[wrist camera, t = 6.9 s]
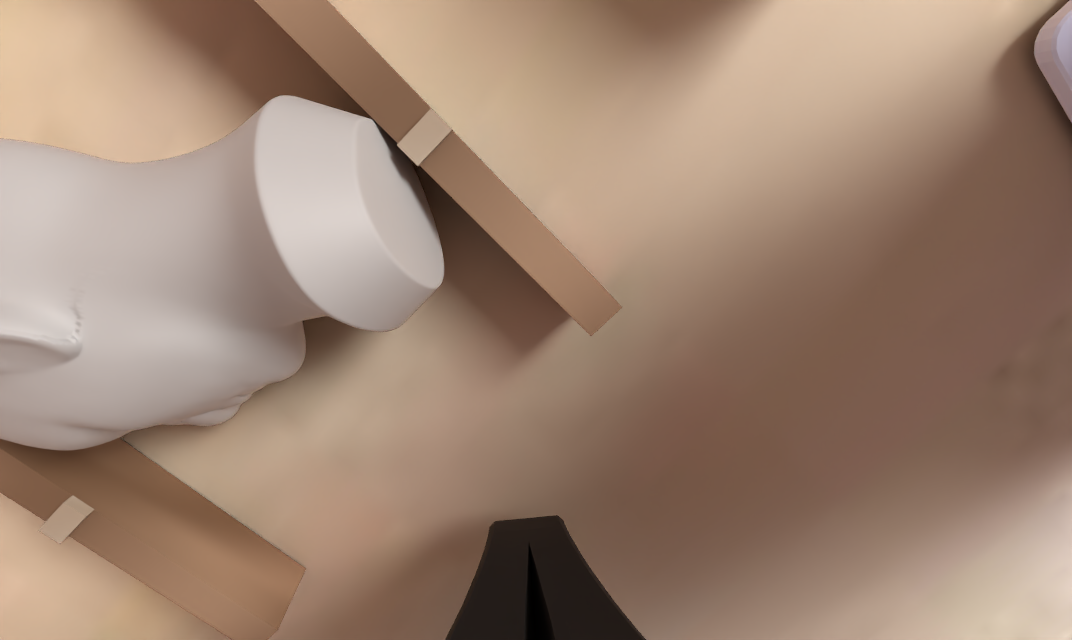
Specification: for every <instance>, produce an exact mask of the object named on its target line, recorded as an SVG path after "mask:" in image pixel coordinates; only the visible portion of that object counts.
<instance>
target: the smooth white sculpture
mask: <svg viewBox="0 0 1072 640" xmlns="http://www.w3.org/2000/svg"><path fill="white" fill-rule="evenodd" d="M397 144H398V143H397V142H396V141H395V140H394V139H393V138H392V137H391V136H390V135H389V134H388V133H387V132H386V131H385V130H384V129H383V128H382V127H381V126H380V125H379V124H378V123H377V122H376V121H375V120H372V119H369V118H366V117H362V116H359V115H356V114H352V113H349V112H346V111H343V110H339V109H336V108H333V107H329V106H326V105H323V104H319V103H316V102H313V101H310V100H306V99H303V98H300V97H296V96H289V95H282V96H278V97H275V98H273V99H271V100H270V101H268V102H267V103H266V104H265V105H264V106H263V107H261V108H260V109H259V110H258V111H257V112H256V113H254V114H253V115H252V116H251V117H250V118H249V119H248V120H246V121H245V122H244V123H243V124H242V125H241V126H239V127H238V128H237V129H236V130H234V131H233V132H231V133H230V134H229V135H227V136H225V137H224V138H222V139H220V140H219V141H217V142H215V143H213V144H210V145H208V146H206V147H204V148H201V149H199V150H196V151H193V152H190V153H187V154H184V155H180V156H177V157H173V158H168V159H163V160H158V161H151V162H141V163H124V162H115V161H110V160H106V159H102V158H98V157H94V156H90V155H87V154H83V153H79V152H75V151H71V150H67V149H63V148H58V147H54V146H49V145H44V144H38V143H32V142H26V141H19V140H11V139H1V138H0V439H3V440H7V441H11V442H14V443H18V444H22V445H26V446H31V447H36V448H43V449H50V450H79V449H84V448H89V447H93V446H97V445H100V444H104V443H107V442H110V441H112V440H115V439H117V438H119V437H121V436H123V435H125V434H127V433H129V432H131V431H133V430H139V429H144V428H148V427H152V426H156V425H160V424H161V425H184V424H189V425H196V426H213V425H217V424H221V423H223V422H225V421H227V420H229V419H230V418H232V417H233V416H234V415H235V414H236V413H237V411H238V410H239V408H240V406H241V404H242V403H244V402H245V401H247V400H248V399H249V398H250V397H251V395H252V394H253V393H254V392H256V391H258V390H260V389H262V388H263V387H265V386H266V385H268V384H271V383H276V382H280V381H283V380H285V379H287V378H289V377H291V376H292V375H294V374H295V373H296V372H297V371H298V370H299V369H300V367H301V366H302V364H303V361H304V358H305V353H306V341H305V333H304V327H303V322H302V321H303V320H308V319H313V318H318V317H324V316H329V317H331V318H333V319H335V320H338V321H340V322H342V323H344V324H347V325H349V326H352V327H355V328H358V329H362V330H367V331H376V332H385V331H391V330H394V329H396V328H398V327H400V326H401V325H402V324H403V323H404V322H405V321H406V320H407V319H408V318H409V317H410V316H411V315H412V314H413V313H414V312H415V311H416V310H417V309H418V308H419V307H420V306H421V305H422V304H423V303H424V302H425V301H426V300H427V299H428V298H429V297H430V296H431V295H432V293H433V292H434V291H435V290H436V289H437V288H438V287H439V286H440V285H441V283H442V281H443V277H444V259H443V253H442V247H441V243H440V239H439V235H438V231H437V228H436V225H435V222H434V219H433V216H432V213H431V210H430V207H429V204H428V201H427V198H426V196H425V193H424V191H423V188H422V186H421V183H420V181H419V178H418V176H417V174H416V172H415V169H414V167H413V165H412V163H411V161H410V159H409V157H408V156H407V155H406V154H405V153H404V152H403V151H402V150H401V149H400V148H399V147H398V146H397Z"/></svg>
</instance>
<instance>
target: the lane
mask: <svg viewBox="0 0 1072 640" xmlns="http://www.w3.org/2000/svg"><path fill="white" fill-rule="evenodd" d="M254 1H255V2H256V3H257V4H258V5H259V6H260V7H261V8H262V9H263V10H264V11H265V12H266V13H267V14H268V15H269V16H270V17H271V18H272V19H273V20H274V21H275V22H276V23H277V24H278V25H279V26H280V27H281V28H282V29H283V30H284V31H285V32H286V33H287V34H288V35H289V36H290V37H291V38H292V39H293V40H294V41H295V42H296V43H297V44H298V45H299V46H300V47H301V48H302V49H303V50H304V51H305V52H306V53H307V54H308V55H309V56H310V57H312V58H313V59H314V60H315V61H316V62H317V63H318V64H319V65H320V66H321V67H322V68H323V69H324V70H325V71H326V72H327V73H328V74H329V75H330V76H331V77H332V78H333V79H334V80H335V81H336V82H337V83H338V84H339V85H340V86H341V87H342V88H343V89H344V90H345V91H346V92H347V93H348V94H349V95H350V96H351V97H352V98H353V99H354V100H355V101H356V102H357V103H358V104H359V105H360V106H361V107H362V108H363V109H364V110H365V111H366V112H367V113H368V114H369V115H370V116H371V117H372V118H373V119H374V120H375V121H376V122H377V123H378V124H379V125H380V126H381V127H382V128H383V129H384V130H385V131H386V132H387V133H388V134H389V135H390V136H391V137H392V138H393V139H394V140H395V141H396V142H397V143H398V144H397V146H398V147H399V148H400V149H401V150H402V151H403V152H404V153H405V154H406V155H407V156H408V157H409V158H410V159H411V160H412V161H413V162H414V163H415V164H416V165H417V166H421V167H422V168H423V169H424V170H425V171H426V172H427V173H428V174H429V175H430V176H431V177H432V178H433V179H434V180H435V181H436V182H437V183H438V184H439V185H440V186H441V187H442V188H443V189H444V190H445V191H446V192H447V193H448V194H449V195H450V196H451V197H452V198H453V199H454V200H455V201H456V202H457V203H458V204H459V205H460V206H461V207H462V208H463V209H464V210H465V211H466V212H467V213H468V214H469V215H470V216H471V217H472V218H473V219H474V220H475V221H476V222H477V223H478V224H479V225H480V226H481V227H482V228H483V229H484V230H485V231H486V232H487V233H488V234H489V235H490V236H491V237H492V238H493V239H494V240H495V241H496V242H497V243H498V244H499V245H500V246H501V247H502V248H503V249H504V250H505V251H506V252H507V253H508V254H509V255H510V256H511V257H512V258H513V259H514V260H515V261H516V262H517V263H518V264H519V265H520V266H521V267H522V268H523V269H524V270H525V271H526V272H527V273H528V274H529V275H530V276H531V277H532V278H533V279H534V280H535V281H536V282H537V283H538V284H539V285H540V286H541V287H542V288H543V289H544V290H545V291H546V292H547V293H548V294H549V295H550V296H551V297H552V298H553V299H554V300H555V301H556V302H557V303H558V304H559V305H560V306H561V307H562V308H563V309H564V310H565V311H566V312H567V313H568V314H569V315H570V316H571V317H572V318H573V319H574V320H575V321H576V322H577V323H578V324H579V325H580V326H581V327H582V328H583V329H584V330H585V331H586V332H587V333H588V334H589V335H590V336H592V335H593V334H594V333H595V332H596V331H597V330H598V329H599V328H600V327H602V326H603V325H604V324H605V323H606V322H607V321H608V320H609V319H610V318H611V317H612V316H613V315H614V314H615V313H617V312H618V311H619V310H620V309H621V308H622V307H621V306H620V304H619V303H618V302H617V301H616V300H615V299H614V298H613V297H612V296H611V295H610V294H609V293H608V292H607V291H606V290H605V289H604V287H603V286H602V285H601V284H600V283H599V282H598V281H597V280H596V279H595V278H594V277H593V276H592V275H591V274H590V273H589V272H588V271H587V270H586V269H585V268H584V267H583V266H582V265H581V264H580V262H579V261H578V260H577V259H576V258H575V257H574V256H573V255H572V254H571V253H570V252H569V251H568V250H567V249H566V248H565V247H564V246H563V245H562V244H561V243H560V242H559V241H558V240H557V239H556V238H555V237H554V235H553V234H552V233H551V232H550V231H549V230H548V229H547V228H546V227H545V226H544V225H543V224H542V223H541V222H540V221H539V220H538V219H537V218H536V217H535V216H534V215H533V214H532V213H531V212H530V211H529V209H528V208H527V207H526V206H525V205H524V204H523V203H522V202H521V201H520V200H519V199H518V198H517V197H516V196H515V195H514V194H513V193H512V192H511V191H510V190H509V189H508V188H507V187H506V186H505V185H504V183H503V182H502V181H501V180H500V179H499V178H498V177H497V176H496V175H495V174H494V173H493V172H492V171H491V170H490V169H489V168H488V167H487V166H486V165H485V164H484V163H483V162H482V161H481V160H480V159H479V157H478V156H477V155H476V154H475V153H474V152H473V151H472V150H471V149H470V148H469V147H468V146H467V145H466V144H465V143H464V142H463V141H462V140H461V139H460V138H459V137H458V136H457V135H456V134H455V133H454V132H453V130H452V129H451V128H450V127H449V126H448V125H447V124H446V123H445V122H444V121H443V120H442V119H441V118H440V116H439V115H438V114H437V113H436V112H435V111H434V110H433V109H432V108H430V107H429V106H428V104H427V103H426V102H425V101H424V100H423V99H422V98H421V97H420V96H419V95H418V94H417V93H416V92H415V91H414V90H413V89H412V88H411V87H410V86H409V85H408V84H407V83H406V82H405V81H404V80H403V78H402V77H401V76H400V75H399V74H398V73H397V72H396V71H395V70H394V69H393V68H392V67H391V66H390V65H389V64H388V63H387V62H386V61H385V60H384V59H383V58H382V57H381V56H380V55H379V54H378V53H377V51H376V50H375V49H374V48H373V47H372V46H371V45H370V44H369V43H368V42H367V41H366V40H365V39H364V38H363V37H362V36H361V35H360V34H359V33H358V32H357V31H356V30H355V29H354V28H353V27H352V25H351V24H350V23H349V22H348V21H347V20H346V19H345V18H344V17H343V16H342V15H341V14H340V13H339V12H338V11H337V10H336V9H335V8H334V7H333V6H332V5H331V4H330V3H329V2H328V1H327V0H254ZM0 492H1V493H2V494H4V495H5V496H7V497H8V498H10V499H12V500H13V501H15V502H16V503H18V504H19V505H21V506H23V507H24V508H26V509H27V510H29V511H30V512H32V513H34V514H35V515H37V516H38V517H40V518H41V519H43V520H45V521H46V522H45V523H44V524H43V525H42V526H41V527H40V528H39V529H38V531H39V532H41V533H43V534H44V535H46V536H47V537H49V538H51V539H52V540H54V541H55V542H57V543H59V544H61V543H62V542H63V541H64V540H65V539H66V538H68V537H69V536H70V537H71V538H73V539H75V540H76V541H78V542H79V543H81V544H82V545H84V546H86V547H87V548H89V549H90V550H92V551H93V552H95V553H97V554H98V555H100V556H101V557H103V558H105V559H106V560H108V561H109V562H111V563H112V564H114V565H116V566H117V567H119V568H120V569H122V570H123V571H125V572H127V573H128V574H130V575H131V576H133V577H134V578H136V579H138V580H139V581H141V582H142V583H144V584H145V585H147V586H149V587H150V588H152V589H153V590H155V591H157V592H158V593H160V594H161V595H163V596H164V597H166V598H168V599H169V600H171V601H172V602H174V603H175V604H177V605H179V606H180V607H182V608H183V609H185V610H186V611H188V612H190V613H191V614H193V615H194V616H196V617H197V618H199V619H201V620H202V621H204V622H205V623H207V624H209V625H210V626H212V627H213V628H215V629H216V630H218V631H220V632H221V633H223V634H224V635H226V636H227V637H229V638H231V639H232V640H267V639H269V638H270V637H271V636H272V635H273V634H274V633H275V632H276V631H277V630H278V628H279V626H280V624H281V621H282V619H283V617H284V615H285V613H286V611H287V609H288V606H289V604H290V602H291V600H292V598H293V596H294V593H295V591H296V589H297V587H298V585H299V583H300V580H301V578H302V576H303V574H304V572H305V570H306V569H305V568H304V567H303V566H301V565H300V564H298V563H297V562H295V561H294V560H293V559H291V558H290V557H288V556H287V555H285V554H284V553H283V552H281V551H280V550H278V549H277V548H276V547H274V546H273V545H271V544H270V543H268V542H267V541H266V540H264V539H263V538H261V537H260V536H258V535H257V534H256V533H254V532H253V531H251V530H250V529H248V528H247V527H246V526H244V525H243V524H241V523H240V522H238V521H237V520H236V519H234V518H233V517H231V516H230V515H228V514H227V513H226V512H224V511H223V510H221V509H220V508H219V507H217V506H216V505H214V504H213V503H211V502H210V501H209V500H207V499H206V498H204V497H203V496H201V495H200V494H199V493H197V492H196V491H194V490H193V489H191V488H190V487H189V486H187V485H186V484H184V483H183V482H181V481H180V480H179V479H177V478H176V477H174V476H173V475H171V474H170V473H169V472H167V471H166V470H164V469H163V468H162V467H160V466H159V465H157V464H156V463H154V462H153V461H152V460H150V459H149V458H147V457H146V456H144V455H143V454H142V453H140V452H139V451H137V450H136V449H134V448H133V447H132V446H130V445H129V444H127V443H126V442H124V441H123V440H122V439H120V438H117V439H115V440H112V441H110V442H107V443H104V444H100V445H97V446H93V447H89V448H84V449H79V450H50V449H43V448H36V447H31V446H26V445H22V444H18V443H14V442H11V441H7V440H3V439H0Z"/></svg>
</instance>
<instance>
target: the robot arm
mask: <svg viewBox="0 0 1072 640" xmlns="http://www.w3.org/2000/svg"><path fill="white" fill-rule="evenodd" d="M1034 56H1035V59H1036V62H1037V65H1038V66H1039V68H1040V70H1041V71H1042V73H1043V75H1044V77H1045V78H1046V80H1047V82H1048V83H1049V85H1050V87H1051V88H1052V90H1053V92H1054V94H1055V95H1056V97H1057V99H1058V100H1059V102H1060V104H1061V106H1062V107H1063V109H1064V111H1065V112H1066V114H1067V116H1068V117H1069V119H1070V121H1071V123H1072V0H1070V1H1069V2H1067V3H1066V4H1065V5H1064V6H1063V7H1062V8H1061V9H1060V10H1059V11H1057V12H1056V13H1055V14H1054V15H1053V16H1052V17H1051V18H1050V19H1049V20H1048V21H1047V22H1046V23H1045V24H1044V26H1043V27H1042V28H1041V29H1040V31H1039V33H1038V36H1037V38H1036V41H1035V46H1034ZM445 640H646V639H645V638H644V637H643V636H642V634H641V633H640V632H639V631H638V630H637V629H636V628H635V626H634V625H633V624H632V623H631V621H630V620H629V619H628V618H627V617H626V615H625V614H624V613H623V612H622V611H621V609H620V608H619V607H618V605H617V604H616V603H615V602H614V600H613V599H612V598H611V596H610V595H609V594H608V592H607V591H606V590H605V588H604V587H603V585H602V584H601V583H600V581H599V580H598V578H597V577H596V576H595V574H594V573H593V571H592V570H591V568H590V567H589V565H588V564H587V562H586V561H585V559H584V558H583V556H582V555H581V553H580V551H579V550H578V548H577V546H576V545H575V543H574V541H573V540H572V538H571V536H570V534H569V532H568V530H567V528H566V526H565V524H564V521H563V520H562V519H561V518H560V517H559V516H557V515H556V516H546V517H536V518H525V519H515V520H505V521H495V522H494V523H493V524H492V525H491V526H490V528H489V534H488V538H487V542H486V546H485V549H484V552H483V555H482V558H481V561H480V564H479V567H478V569H477V572H476V575H475V577H474V579H473V582H472V584H471V586H470V589H469V591H468V594H467V596H466V598H465V601H464V603H463V605H462V607H461V609H460V611H459V613H458V615H457V617H456V619H455V621H454V623H453V625H452V627H451V629H450V631H449V633H448V635H447V637H446V639H445Z"/></svg>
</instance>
